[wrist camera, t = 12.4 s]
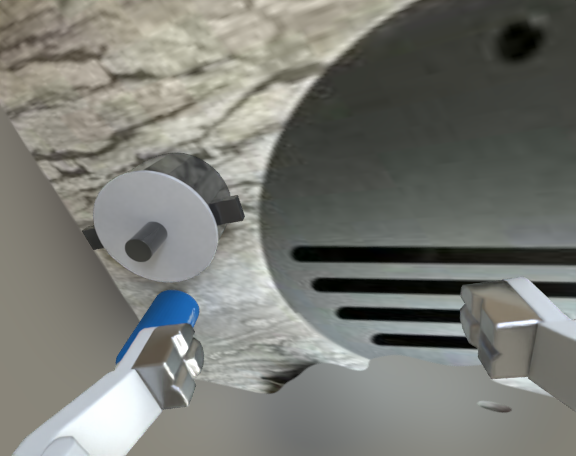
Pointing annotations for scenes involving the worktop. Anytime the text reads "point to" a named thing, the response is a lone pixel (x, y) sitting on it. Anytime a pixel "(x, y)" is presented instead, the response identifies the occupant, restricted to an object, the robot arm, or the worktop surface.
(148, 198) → the pot lid
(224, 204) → the pot
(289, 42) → the worktop surface
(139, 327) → the beverage can
